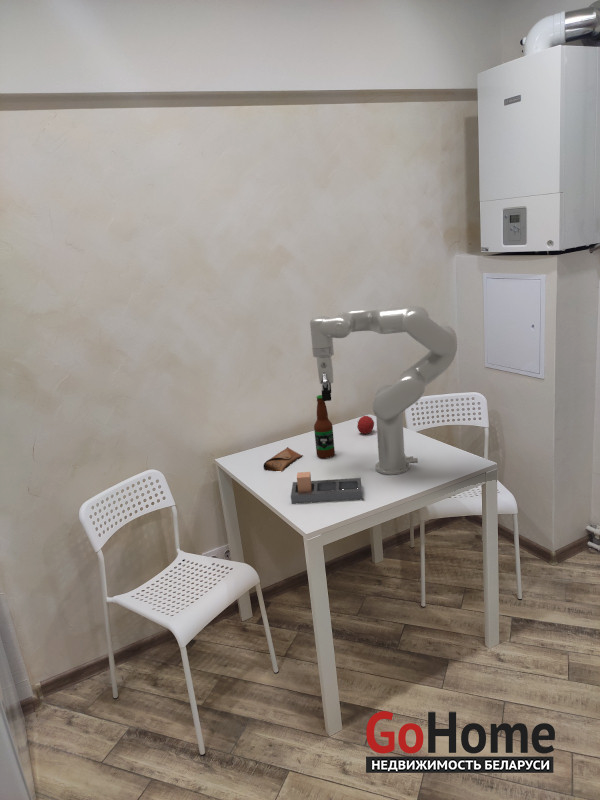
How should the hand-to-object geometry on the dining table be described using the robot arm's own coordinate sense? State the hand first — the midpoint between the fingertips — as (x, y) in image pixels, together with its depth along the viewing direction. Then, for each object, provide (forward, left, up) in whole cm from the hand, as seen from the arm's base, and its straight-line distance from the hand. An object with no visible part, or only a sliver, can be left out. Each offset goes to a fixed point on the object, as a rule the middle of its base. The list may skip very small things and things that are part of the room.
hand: (327, 396), depth 225 cm
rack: (+2, +23, -28) cm, 37 cm away
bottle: (+3, -13, -28) cm, 31 cm away
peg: (+10, +23, -28) cm, 38 cm away
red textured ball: (-14, -36, -28) cm, 48 cm away
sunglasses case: (+20, -9, -29) cm, 36 cm away
